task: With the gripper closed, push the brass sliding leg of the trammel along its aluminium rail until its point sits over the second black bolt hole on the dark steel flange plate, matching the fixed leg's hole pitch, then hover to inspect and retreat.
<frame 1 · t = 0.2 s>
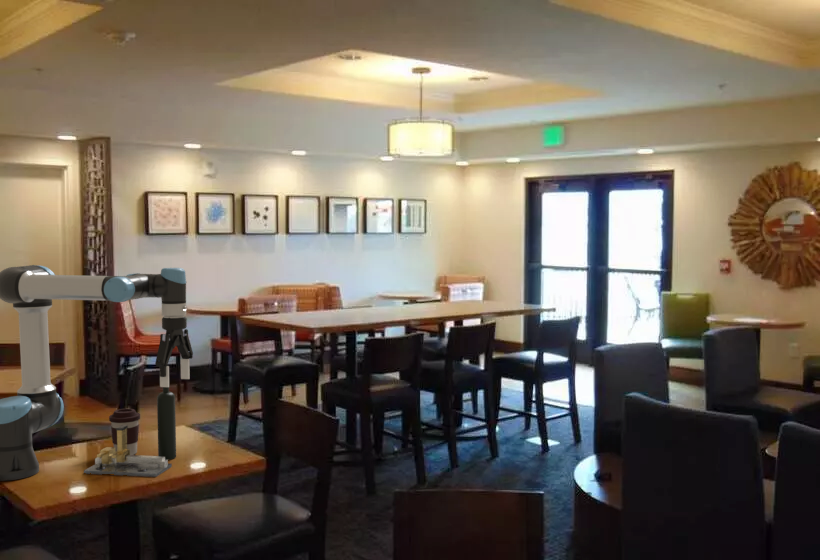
hand: (175, 382, 255), 28 cm above the table, fingers open, 13 cm apart
trammel plate: (128, 470, 255), on the table
coffee cup: (125, 454, 273), on the table
wine bottle: (167, 458, 269), on the table
sliding leg: (119, 446, 255), point 7 cm above the table, slide at 0.0 cm
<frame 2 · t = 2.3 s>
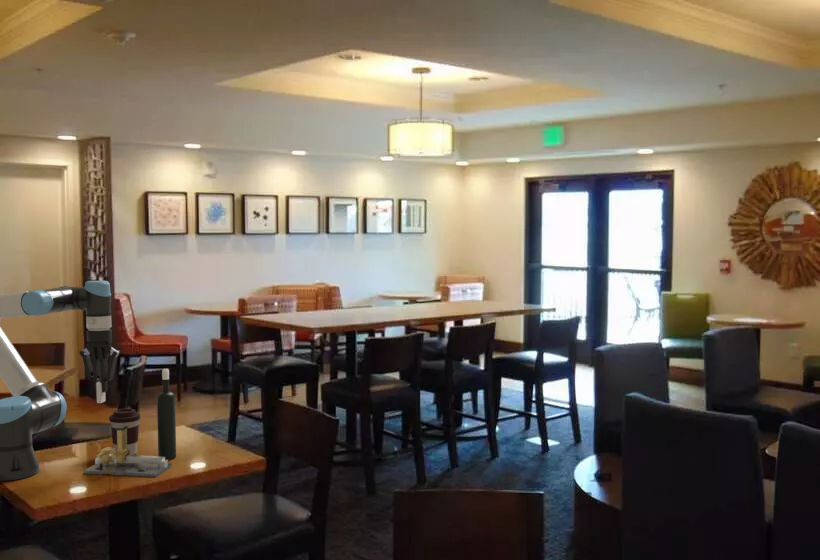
hand: (101, 402, 257), 21 cm above the table, fingers closed
nothing on the table moved.
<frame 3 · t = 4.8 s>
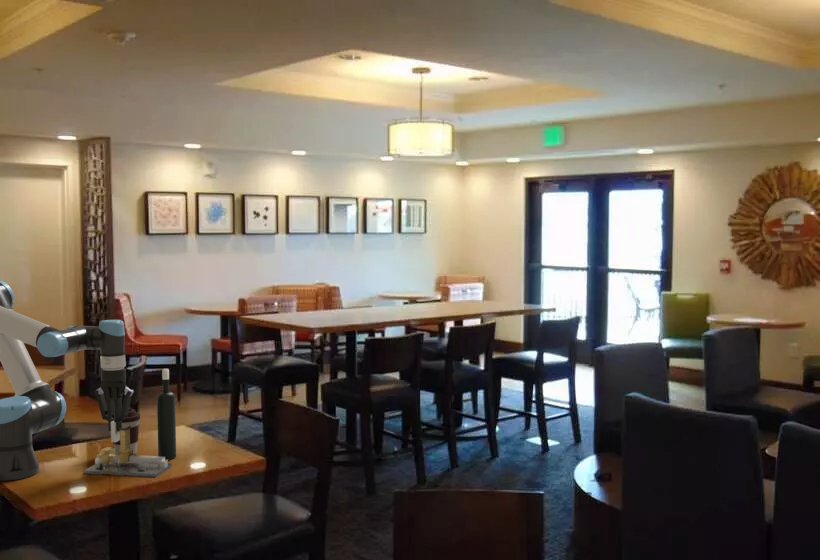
hand: (115, 441, 257), 9 cm above the table, fingers closed
sliding leg: (122, 446, 255), point 7 cm above the table, slide at 1.1 cm, touching gripper
everything else where it was.
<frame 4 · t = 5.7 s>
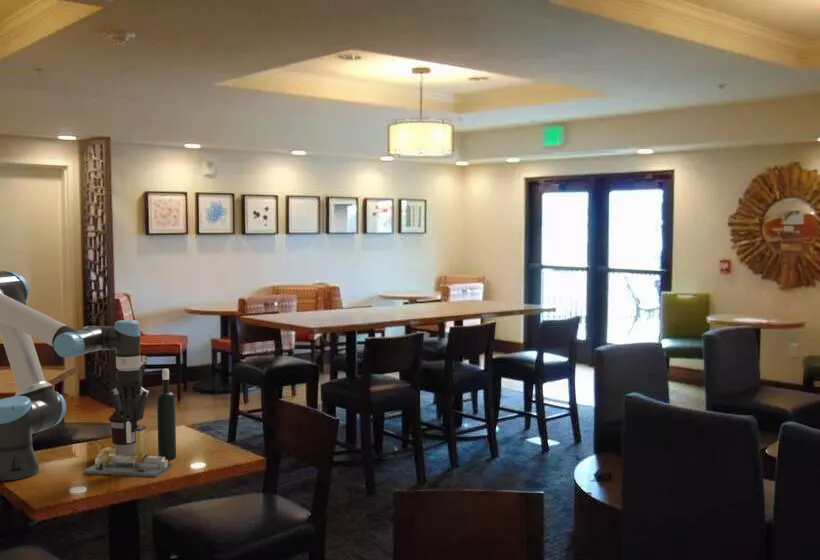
hand: (130, 441, 256), 9 cm above the table, fingers closed
sliding leg: (137, 447, 254), point 7 cm above the table, slide at 6.3 cm, touching gripper
everything else where it was.
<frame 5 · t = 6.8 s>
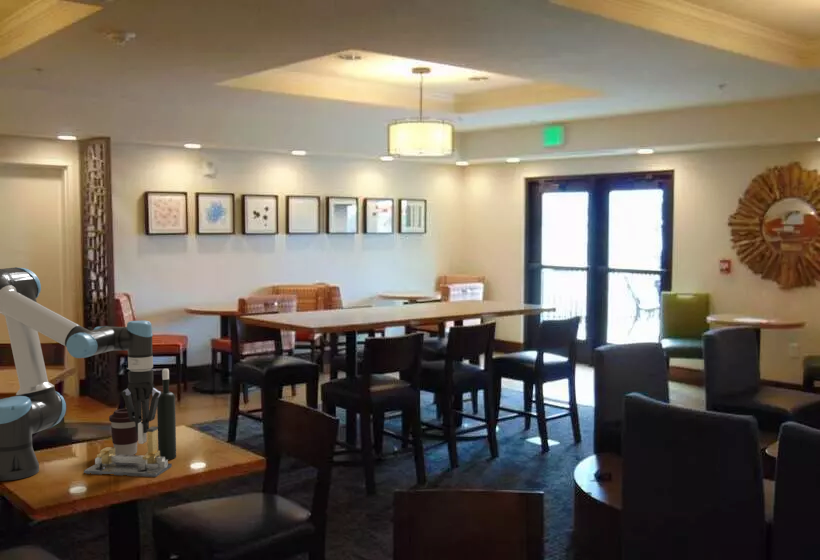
hand: (142, 442, 256), 9 cm above the table, fingers closed
sliding leg: (149, 447, 254), point 7 cm above the table, slide at 10.4 cm, touching gripper
everything else where it was.
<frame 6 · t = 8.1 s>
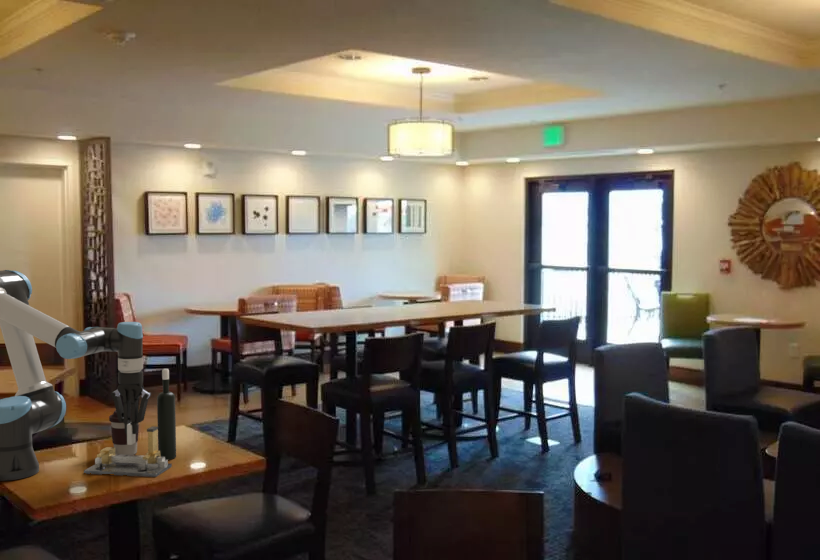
hand: (131, 443, 257), 8 cm above the table, fingers closed
sliding leg: (150, 447, 254), point 7 cm above the table, slide at 10.4 cm
everything else where it was.
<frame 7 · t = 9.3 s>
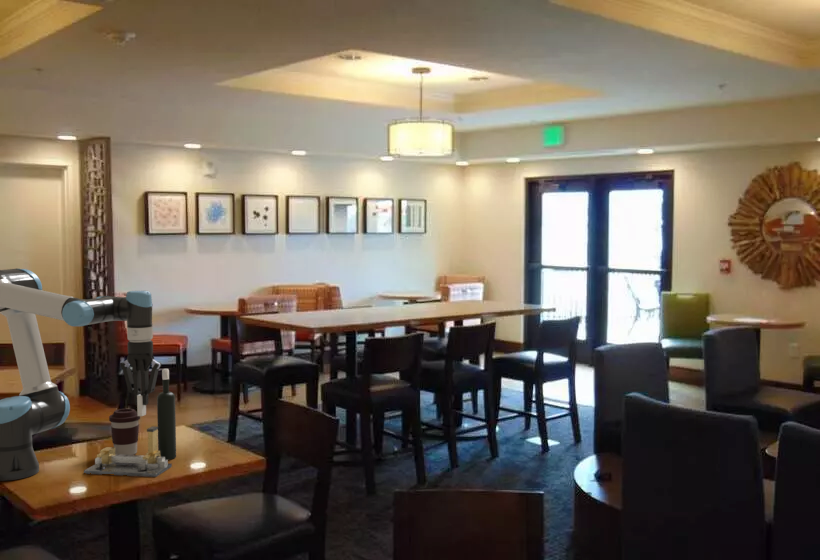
hand: (141, 415, 251), 18 cm above the table, fingers closed
nothing on the table moved.
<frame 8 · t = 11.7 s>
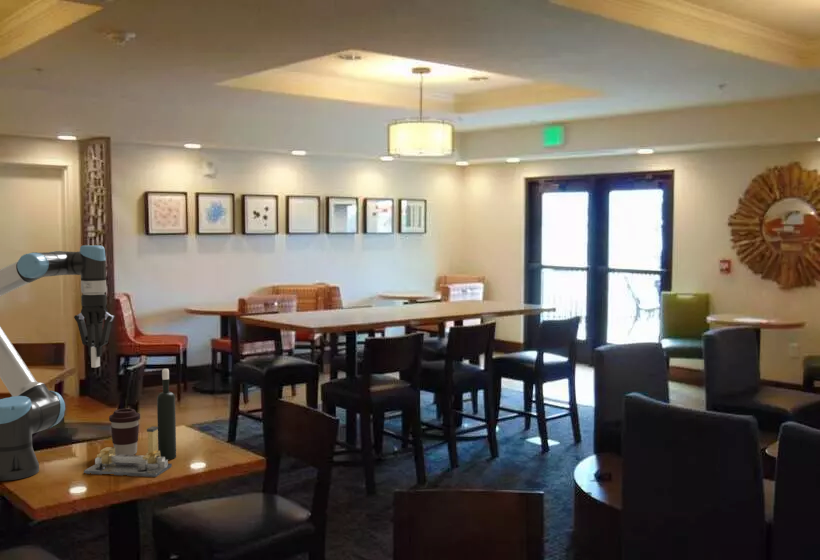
hand: (95, 366, 258), 32 cm above the table, fingers closed
nothing on the table moved.
at the end: sliding leg slide at 10.4 cm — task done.
